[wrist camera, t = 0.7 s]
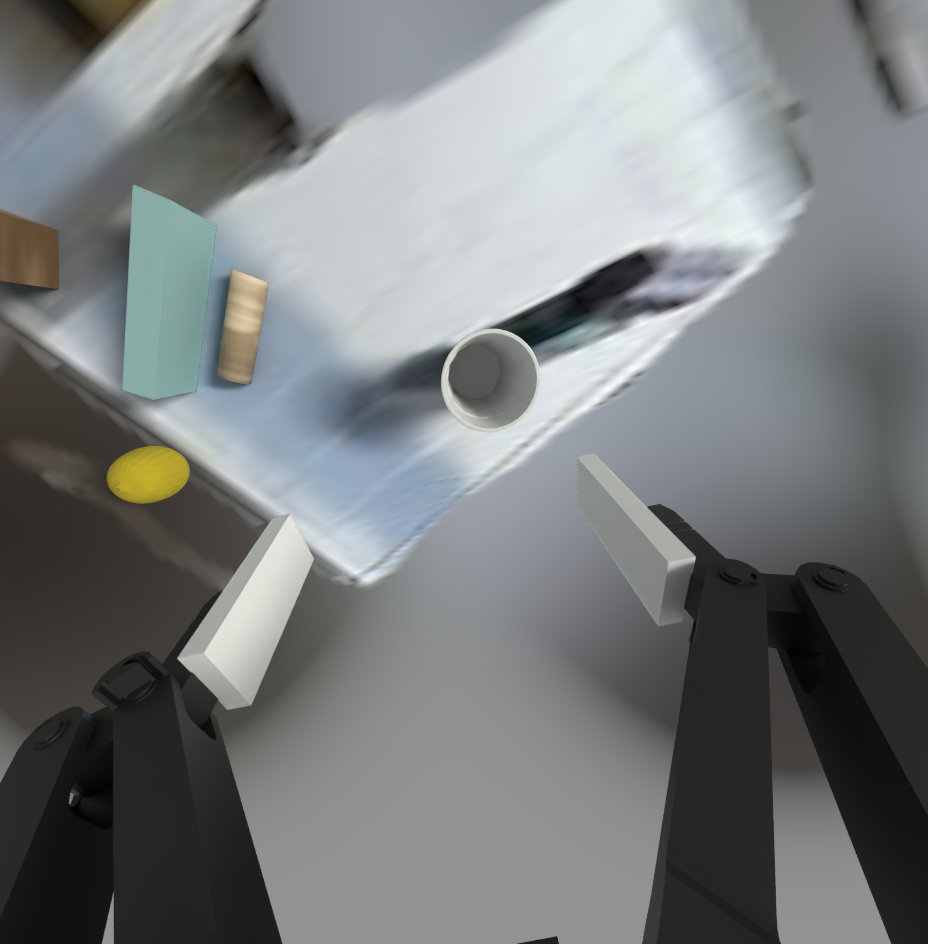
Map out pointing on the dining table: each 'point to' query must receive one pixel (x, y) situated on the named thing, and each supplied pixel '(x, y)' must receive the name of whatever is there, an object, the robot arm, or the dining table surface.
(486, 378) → the cup
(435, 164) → the dining table surface
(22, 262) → the slab
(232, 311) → the roller
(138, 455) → the lemon
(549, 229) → the dining table surface
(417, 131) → the dining table surface
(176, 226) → the rail
